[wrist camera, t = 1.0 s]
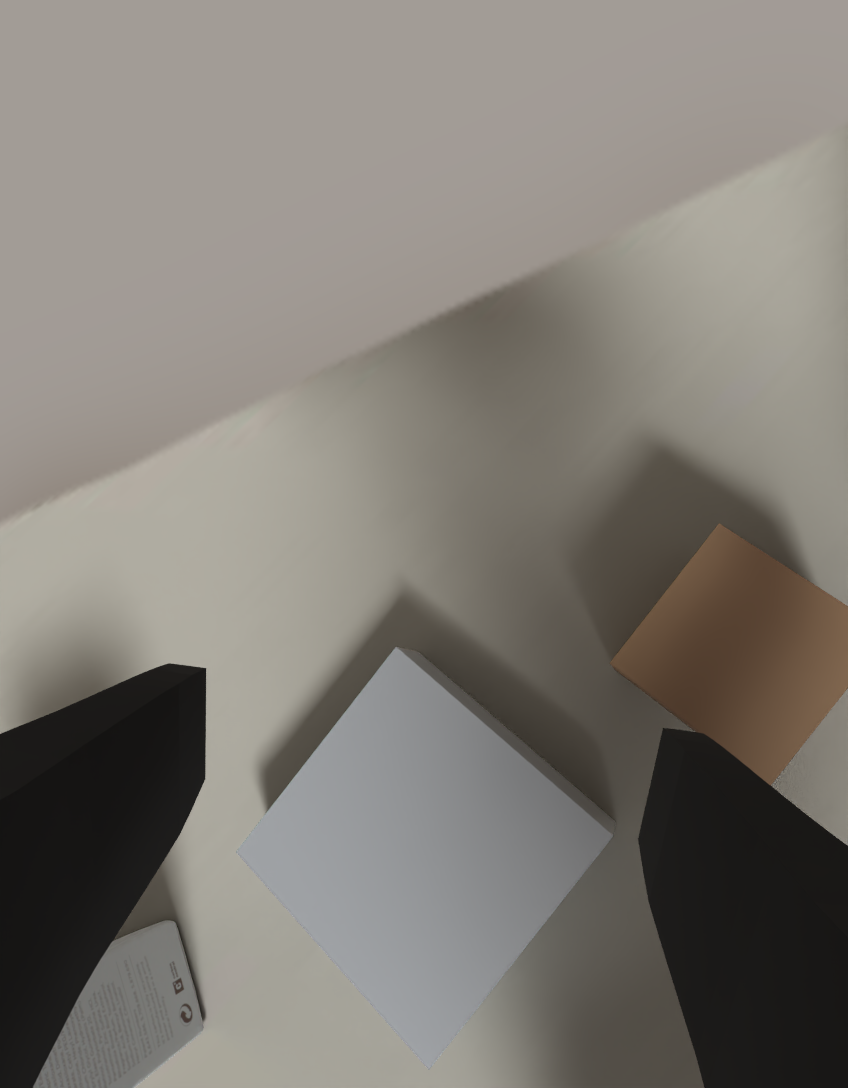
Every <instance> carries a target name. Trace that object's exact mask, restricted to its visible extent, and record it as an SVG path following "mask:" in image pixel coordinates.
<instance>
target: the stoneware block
mask: <svg viewBox="0 0 848 1088" xmlns="http://www.w3.org/2000/svg"><path fill="white" fill-rule="evenodd" d="M615 823H616V821H614V820H613V819H612V818H611V817H610V816H609V815H607V814H606V813H605V812H604V811H603V810H602V809H600V808H599V807H598V806H597V805H596V804H595V803H593V802H592V801H591V800H590V799H589V798H588V797H586V796H585V795H584V794H583V793H582V792H581V791H580V790H578V789H577V788H576V787H575V786H574V785H573V784H571V783H570V782H569V781H568V780H567V779H566V778H564V777H563V776H562V775H561V774H560V773H559V772H557V771H556V770H555V769H554V768H553V767H552V766H550V765H549V764H548V763H547V762H546V761H545V760H543V759H542V758H541V757H540V756H539V755H538V754H537V753H535V752H534V751H533V750H532V749H531V748H530V747H528V746H527V745H526V744H525V743H524V742H523V741H521V740H520V739H519V738H518V737H517V736H516V735H514V734H513V733H512V732H511V731H510V730H509V729H507V728H506V727H505V726H504V725H503V724H502V723H501V722H499V721H498V720H497V719H496V718H495V717H494V716H492V715H491V714H490V713H489V712H488V711H487V710H485V709H484V708H483V707H482V706H481V705H480V704H478V703H477V702H476V701H475V700H474V699H473V698H471V697H470V696H469V695H468V694H467V693H466V692H465V691H463V690H462V689H461V688H460V687H459V686H458V685H456V684H455V683H454V682H453V681H452V680H451V679H449V678H448V677H447V676H446V675H445V674H444V673H442V672H441V671H440V670H439V669H438V668H437V667H435V666H434V665H433V664H432V663H431V662H430V661H428V660H427V659H426V658H425V657H424V656H423V655H422V654H420V653H419V652H418V651H414V650H410V649H405V648H400V647H395V649H394V650H393V651H392V652H391V654H390V655H389V656H388V658H387V659H386V660H385V661H384V663H383V664H382V665H381V667H380V668H379V669H378V670H377V672H376V673H375V674H374V676H373V677H372V678H371V679H370V681H369V682H368V683H367V684H366V686H365V687H364V688H363V690H362V691H361V692H360V693H359V695H358V696H357V697H356V699H355V700H354V701H353V702H352V704H351V705H350V706H349V708H348V709H347V710H346V711H345V713H344V714H343V715H342V717H341V718H340V719H339V720H338V722H337V723H336V724H335V725H334V727H333V728H332V729H331V731H330V732H329V733H328V734H327V736H326V737H325V738H324V740H323V741H322V742H321V743H320V745H319V746H318V747H317V749H316V750H315V751H314V752H313V754H312V755H311V756H310V758H309V759H308V760H307V761H306V763H305V764H304V765H303V766H302V768H301V769H300V770H299V772H298V773H297V774H296V775H295V777H294V778H293V779H292V781H291V782H290V783H289V784H288V786H287V787H286V788H285V790H284V791H283V792H282V793H281V795H280V796H279V797H278V799H277V800H276V801H275V802H274V804H273V805H272V806H271V807H270V809H269V810H268V811H267V813H266V814H265V815H264V816H263V818H262V819H261V820H260V822H259V823H258V824H257V825H256V827H255V828H254V829H253V831H252V832H251V833H250V834H249V836H248V837H247V838H246V840H245V841H244V842H243V843H242V845H241V846H240V847H239V849H238V850H237V851H236V853H237V854H238V855H239V856H240V857H241V858H242V859H243V861H244V862H245V863H246V864H247V865H248V866H249V867H250V868H251V870H252V871H253V872H254V873H255V874H256V875H257V876H258V878H259V879H260V880H261V881H262V882H263V883H264V884H265V885H266V887H267V888H268V889H269V890H270V891H271V892H272V893H273V894H274V896H275V897H276V898H277V899H278V900H279V901H280V902H281V903H282V905H283V906H284V907H285V908H286V909H287V910H288V911H289V913H290V914H291V915H292V916H293V917H294V918H295V919H296V920H297V922H298V923H299V924H300V925H301V926H302V927H303V928H304V929H305V931H306V932H307V933H308V934H309V935H310V936H311V937H312V938H313V940H314V941H315V942H316V943H317V944H318V945H319V946H320V948H321V949H322V950H323V951H324V952H325V953H326V954H327V955H328V957H329V958H330V959H331V960H332V961H333V962H334V963H335V964H336V966H337V967H338V968H339V969H340V970H341V971H342V972H343V973H344V975H345V976H346V977H347V978H348V979H349V980H350V981H351V983H352V984H353V985H354V986H355V987H356V988H357V989H358V990H359V992H360V993H361V994H362V995H363V996H364V997H365V998H366V999H367V1001H368V1002H369V1003H370V1004H371V1005H372V1006H373V1007H374V1008H375V1010H376V1011H377V1012H378V1013H379V1014H380V1015H381V1016H382V1018H383V1019H384V1020H385V1021H386V1022H387V1023H388V1024H389V1025H390V1027H391V1028H392V1029H393V1030H394V1031H395V1032H396V1033H397V1034H398V1036H399V1037H400V1038H401V1039H402V1040H403V1041H404V1042H405V1044H406V1045H407V1046H408V1047H409V1048H410V1049H411V1050H412V1051H413V1053H414V1054H415V1055H416V1056H417V1057H418V1058H419V1059H420V1060H421V1062H422V1063H423V1064H424V1065H425V1066H426V1067H427V1068H428V1069H430V1068H431V1067H432V1065H433V1064H434V1063H435V1062H436V1060H437V1059H438V1058H439V1057H440V1055H441V1054H442V1053H443V1052H444V1050H445V1049H446V1048H447V1046H448V1045H449V1044H450V1043H451V1041H452V1040H453V1039H454V1038H455V1036H456V1035H457V1034H458V1033H459V1031H460V1030H461V1029H462V1027H463V1026H464V1025H465V1024H466V1022H467V1021H468V1020H469V1019H470V1017H471V1016H472V1015H473V1013H474V1012H475V1011H476V1010H477V1008H478V1007H479V1006H480V1005H481V1003H482V1002H483V1001H484V1000H485V998H486V997H487V996H488V994H489V993H490V992H491V991H492V989H493V988H494V987H495V986H496V984H497V983H498V982H499V980H500V979H501V978H502V977H503V975H504V974H505V973H506V972H507V970H508V969H509V968H510V967H511V965H512V964H513V963H514V961H515V960H516V959H517V958H518V956H519V955H520V954H521V953H522V951H523V950H524V949H525V948H526V946H527V945H528V944H529V942H530V941H531V940H532V939H533V937H534V936H535V935H536V934H537V932H538V931H539V930H540V928H541V927H542V926H543V925H544V923H545V922H546V921H547V920H548V918H549V917H550V916H551V915H552V913H553V912H554V911H555V909H556V908H557V907H558V906H559V904H560V903H561V902H562V901H563V899H564V898H565V897H566V895H567V894H568V893H569V892H570V890H571V889H572V888H573V887H574V885H575V884H576V883H577V882H578V880H579V879H580V878H581V876H582V875H583V874H584V873H585V871H586V870H587V869H588V868H589V866H590V865H591V864H592V863H593V861H594V860H595V859H596V857H597V856H598V855H599V854H600V852H601V851H602V850H603V849H604V847H605V846H606V845H607V843H608V842H609V841H610V840H611V838H612V837H613V836H614V830H615Z"/></svg>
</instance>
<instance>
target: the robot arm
mask: <svg viewBox="0 0 848 1088" xmlns="http://www.w3.org/2000/svg"><path fill="white" fill-rule="evenodd" d="M205 742H206V668H200V667H192V666H185V665H177V664H166V665H163V666H160V667H157V668H154V669H152V670H149V671H147V672H144V673H142V674H139V675H137V676H135V677H133V678H130V679H128V680H126V681H124V682H121V683H119V684H117V685H115V686H112V687H110V688H108V689H106V690H103V691H101V692H99V693H97V694H95V695H92V696H90V697H88V698H86V699H83V700H81V701H79V702H77V703H74V704H72V705H70V706H68V707H65V708H63V709H61V710H58V711H56V712H54V713H51V714H49V715H46V716H44V717H41V718H39V719H36V720H34V721H31V722H29V723H26V724H24V725H21V726H19V727H16V728H14V729H12V730H9V731H7V732H4V733H2V734H0V1088H33V1086H34V1084H35V1082H36V1080H37V1078H38V1076H39V1074H40V1072H41V1070H42V1068H43V1066H44V1064H45V1062H46V1060H47V1058H48V1056H49V1054H50V1052H51V1050H52V1048H53V1046H54V1044H55V1042H56V1040H57V1039H58V1037H59V1035H60V1033H61V1031H62V1029H63V1027H64V1025H65V1023H66V1021H67V1019H68V1017H69V1015H70V1013H71V1011H72V1009H73V1007H74V1005H75V1003H76V1001H77V999H78V997H79V996H80V994H81V992H82V990H83V989H84V987H85V985H86V983H87V982H88V980H89V978H90V977H91V975H92V973H93V971H94V970H95V968H96V966H97V965H98V963H99V961H100V960H101V958H102V957H103V955H104V953H105V952H106V950H107V949H108V947H109V946H110V944H111V943H112V941H113V939H114V938H115V936H116V935H117V933H118V932H119V930H120V928H121V927H122V925H123V924H124V922H125V921H126V919H127V917H128V916H129V914H130V913H131V911H132V910H133V908H134V906H135V905H136V903H137V902H138V900H139V899H140V897H141V895H142V894H143V892H144V891H145V889H146V888H147V886H148V884H149V883H150V881H151V880H152V878H153V877H154V875H155V873H156V872H157V870H158V869H159V867H160V865H161V864H162V862H163V861H164V859H165V857H166V856H167V854H168V853H169V851H170V849H171V848H172V846H173V845H174V843H175V841H176V840H177V838H178V836H179V835H180V833H181V831H182V829H183V826H184V824H185V822H186V820H187V818H188V816H189V814H190V812H191V810H192V807H193V805H194V803H195V801H196V798H197V796H198V794H199V792H200V789H201V787H202V785H203V783H204V780H205ZM638 840H639V847H640V853H641V860H642V866H643V873H644V878H645V884H646V889H647V895H648V900H649V904H650V908H651V911H652V914H653V918H654V921H655V924H656V928H657V931H658V934H659V938H660V941H661V944H662V948H663V951H664V954H665V957H666V961H667V964H668V967H669V970H670V973H671V977H672V980H673V983H674V986H675V990H676V993H677V996H678V999H679V1002H680V1006H681V1009H682V1012H683V1015H684V1018H685V1022H686V1025H687V1028H688V1031H689V1035H690V1038H691V1041H692V1044H693V1047H694V1051H695V1054H696V1057H697V1061H698V1065H699V1068H700V1072H701V1076H702V1080H703V1083H704V1087H705V1088H848V846H847V845H846V844H844V843H843V842H842V841H840V840H839V839H838V838H836V837H835V836H833V835H832V834H831V833H830V832H828V831H827V830H826V829H824V828H823V827H822V826H820V825H819V824H818V823H817V822H815V821H814V820H813V819H811V818H810V817H809V816H808V815H806V814H805V813H804V812H802V811H801V810H800V809H799V808H797V807H796V806H795V805H794V804H792V803H791V802H790V801H789V800H787V799H786V798H785V797H784V796H782V795H781V794H780V793H779V792H778V791H776V790H775V789H774V788H773V787H771V786H770V785H769V784H768V783H767V782H765V781H764V780H763V779H762V778H760V777H759V776H758V775H757V774H756V773H754V772H753V771H752V770H751V769H750V768H748V767H747V766H746V765H745V764H743V763H742V762H741V761H740V760H739V759H737V758H736V757H735V756H734V755H732V754H731V753H730V752H729V751H727V750H726V749H725V748H724V747H722V746H721V745H720V744H718V743H717V742H716V741H714V740H713V739H711V738H710V737H708V736H707V735H705V734H704V733H697V732H690V731H682V730H674V729H667V728H663V731H662V736H661V740H660V745H659V749H658V754H657V758H656V763H655V767H654V771H653V776H652V780H651V785H650V789H649V794H648V798H647V803H646V807H645V811H644V816H643V820H642V825H641V829H640V834H639V838H638Z"/></svg>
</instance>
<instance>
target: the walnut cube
mask: <svg viewBox="0 0 848 1088" xmlns="http://www.w3.org/2000/svg"><path fill="white" fill-rule="evenodd" d="M610 664H611V665H612V667H613V668H614V669H615V670H616V671H617V672H619V673H620V674H621V675H623V676H624V677H625V678H627V679H628V680H629V681H630V682H632V683H633V684H634V685H636V686H637V687H638V688H640V689H641V690H642V691H643V692H645V693H646V694H647V695H649V696H650V697H651V698H653V699H654V700H655V701H656V702H658V703H659V704H660V705H662V706H663V707H664V708H666V709H667V710H668V711H669V712H671V713H672V714H673V715H675V716H676V717H677V718H679V719H680V720H681V721H682V722H684V723H685V724H686V725H688V726H689V727H690V728H692V729H693V730H694V731H695V732H697V733H704V734H705V735H707V736H708V737H710V738H711V739H713V740H714V741H716V742H717V743H718V744H720V745H721V746H722V747H724V748H725V749H726V750H727V751H729V752H730V753H731V754H732V755H734V756H735V757H736V758H737V759H739V760H740V761H741V762H742V763H743V764H745V765H746V766H747V767H748V768H750V769H751V770H752V771H753V772H754V773H756V774H757V775H758V776H759V777H760V778H762V779H763V780H764V781H765V782H767V783H768V784H769V785H770V786H771V784H772V783H773V782H774V781H775V779H776V778H777V777H778V776H779V774H780V773H781V772H782V771H783V769H784V768H785V767H786V765H787V764H788V763H789V762H790V760H791V759H792V758H793V757H794V755H795V754H796V753H797V752H798V750H799V749H800V748H801V746H802V745H803V744H804V743H805V741H806V740H807V739H808V738H809V736H810V735H811V734H812V733H813V731H814V730H815V729H816V727H817V726H818V725H819V724H820V722H821V721H822V720H823V719H824V717H825V716H826V715H827V714H828V712H829V711H830V710H831V708H832V707H833V706H834V705H835V703H836V702H837V701H838V700H839V698H840V697H841V696H842V695H843V693H844V692H845V691H846V689H847V688H848V606H846V605H845V604H843V603H842V602H840V601H839V600H837V599H836V598H834V597H833V596H831V595H829V594H828V593H826V592H825V591H823V590H822V589H820V588H819V587H817V586H815V585H814V584H812V583H811V582H809V581H808V580H806V579H805V578H803V577H801V576H800V575H798V574H797V573H795V572H794V571H792V570H791V569H789V568H788V567H786V566H784V565H783V564H781V563H780V562H778V561H777V560H775V559H774V558H772V557H770V556H769V555H767V554H766V553H764V552H763V551H761V550H760V549H758V548H756V547H755V546H753V545H752V544H750V543H749V542H747V541H746V540H744V539H743V538H741V537H739V536H738V535H736V534H735V533H733V532H732V531H730V530H729V529H727V528H725V527H724V526H722V525H721V524H718V525H717V526H716V528H715V529H714V530H713V532H712V533H711V534H710V535H709V537H708V538H707V539H706V541H705V542H704V543H703V544H702V546H701V547H700V548H699V549H698V551H697V552H696V553H695V555H694V556H693V557H692V558H691V560H690V561H689V562H688V564H687V565H686V566H685V567H684V569H683V570H682V571H681V572H680V574H679V575H678V576H677V578H676V579H675V580H674V581H673V583H672V584H671V585H670V587H669V588H668V589H667V590H666V592H665V593H664V594H663V595H662V597H661V598H660V599H659V601H658V602H657V603H656V604H655V606H654V607H653V608H652V610H651V611H650V612H649V613H648V615H647V616H646V617H645V618H644V620H643V621H642V622H641V624H640V625H639V626H638V627H637V629H636V630H635V631H634V632H633V634H632V635H631V636H630V638H629V639H628V640H627V641H626V643H625V644H624V645H623V647H622V648H621V649H620V650H619V652H618V653H617V654H616V655H615V657H614V658H613V659H612V661H611V662H610Z"/></svg>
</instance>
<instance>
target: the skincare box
mask: <svg viewBox="0 0 848 1088" xmlns="http://www.w3.org/2000/svg"><path fill="white" fill-rule="evenodd" d="M203 1028H204V1026H203V1022H202V1017H201V1013H200V1008H199V1004H198V999H197V996H196V991H195V987H194V984H193V981H192V977H191V974H190V970H189V967H188V962H187V959H186V955H185V951H184V948H183V945H182V941H181V938H180V935H179V931H178V928H177V925H176V923H175V922H174V921H170V920H166V921H162V922H159V923H156V924H154V925H151V926H148V927H146V928H143V929H140V930H138V931H135V932H133V933H130V934H128V935H125V936H123V937H121V938H119V939H116V940H114V941H112V943H111V944H110V946H109V947H108V949H107V950H106V952H105V953H104V955H103V957H102V958H101V960H100V961H99V963H98V965H97V966H96V968H95V970H94V971H93V973H92V975H91V977H90V978H89V980H88V982H87V983H86V985H85V987H84V989H83V990H82V992H81V994H80V996H79V997H78V999H77V1001H76V1003H75V1005H74V1007H73V1009H72V1011H71V1013H70V1015H69V1017H68V1019H67V1021H66V1023H65V1025H64V1027H63V1029H62V1031H61V1033H60V1035H59V1037H58V1039H57V1040H56V1042H55V1044H54V1046H53V1048H52V1050H51V1052H50V1054H49V1056H48V1058H47V1060H46V1062H45V1064H44V1066H43V1068H42V1070H41V1072H40V1074H39V1076H38V1078H37V1080H36V1082H35V1084H34V1086H33V1088H135V1087H136V1086H137V1085H138V1084H140V1083H141V1082H142V1081H143V1080H145V1079H146V1078H147V1077H148V1076H150V1075H151V1074H152V1073H153V1072H155V1071H156V1070H157V1069H158V1068H160V1067H161V1066H162V1065H163V1064H165V1063H166V1062H167V1061H168V1060H169V1059H171V1058H172V1057H173V1056H174V1055H176V1054H177V1053H178V1052H179V1051H180V1050H182V1049H183V1048H184V1047H185V1046H186V1045H188V1044H189V1043H190V1042H192V1041H193V1040H194V1039H195V1038H196V1037H197V1036H198V1035H200V1034H201V1032H202V1031H203Z"/></svg>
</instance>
